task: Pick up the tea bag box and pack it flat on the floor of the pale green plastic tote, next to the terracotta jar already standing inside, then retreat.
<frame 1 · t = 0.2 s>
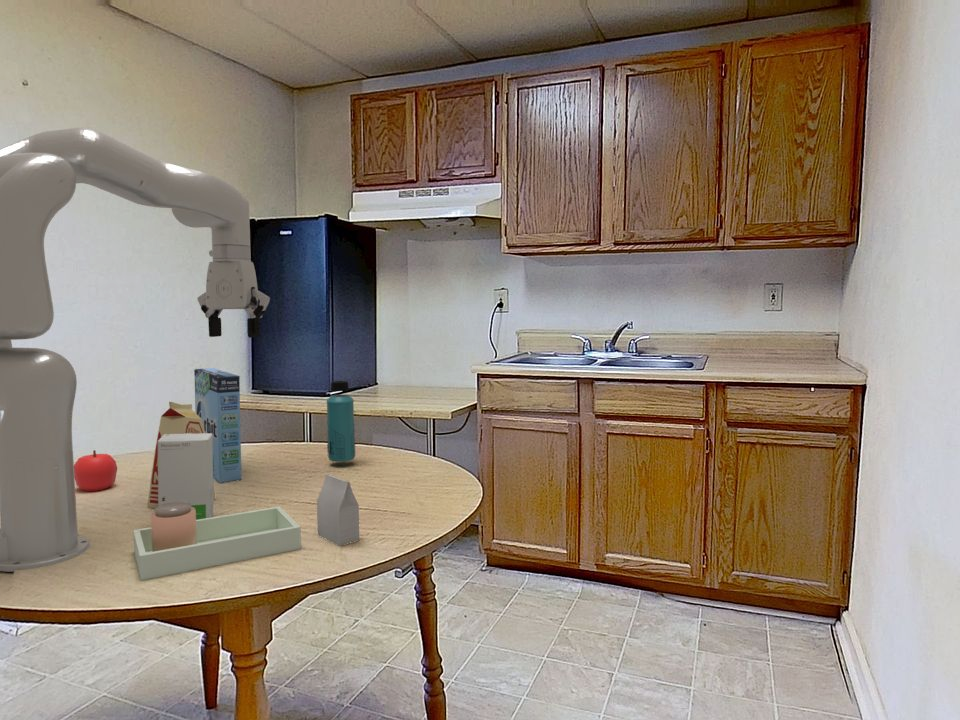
hand: (234, 336, 139), 31 cm above the table, tool pointing down, fingers open, 9 cm apart
apple: (96, 489, 136), on the table
skincare box: (188, 525, 114), on the table
beverage bottle: (341, 465, 155), on the table
jar: (175, 558, 97), point 1 cm above the table, touching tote
milk carton: (183, 503, 126), on the table
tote: (218, 553, 100), on the table
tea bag: (338, 539, 107), on the table
gum box: (219, 473, 148), on the table
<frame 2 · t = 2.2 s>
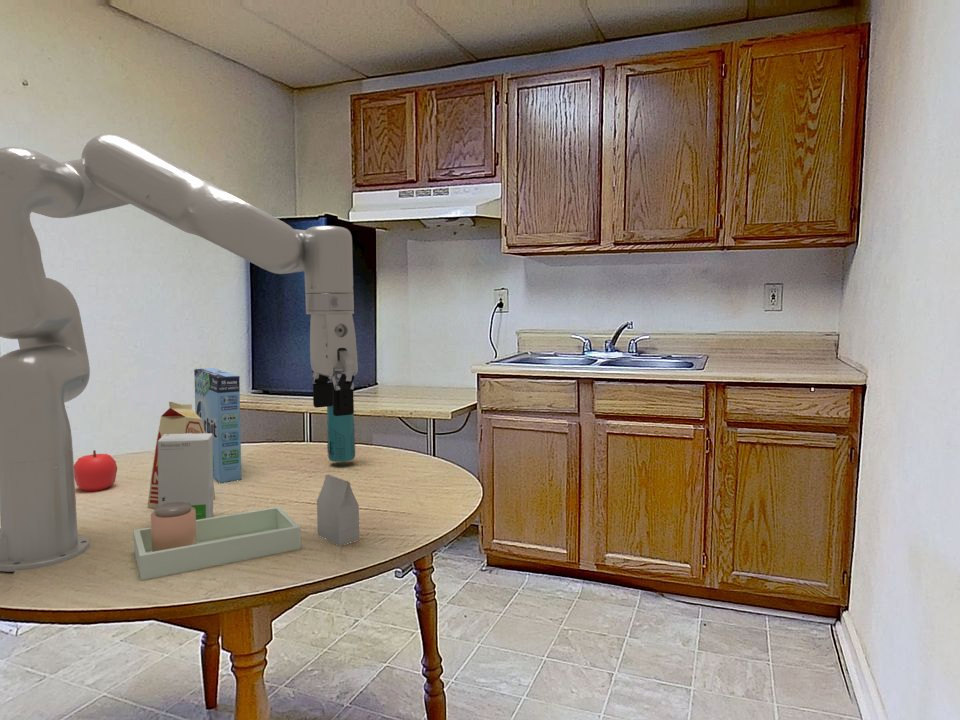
hand: (333, 410, 106), 21 cm above the table, tool pointing down, fingers open, 9 cm apart
nothing on the table moved.
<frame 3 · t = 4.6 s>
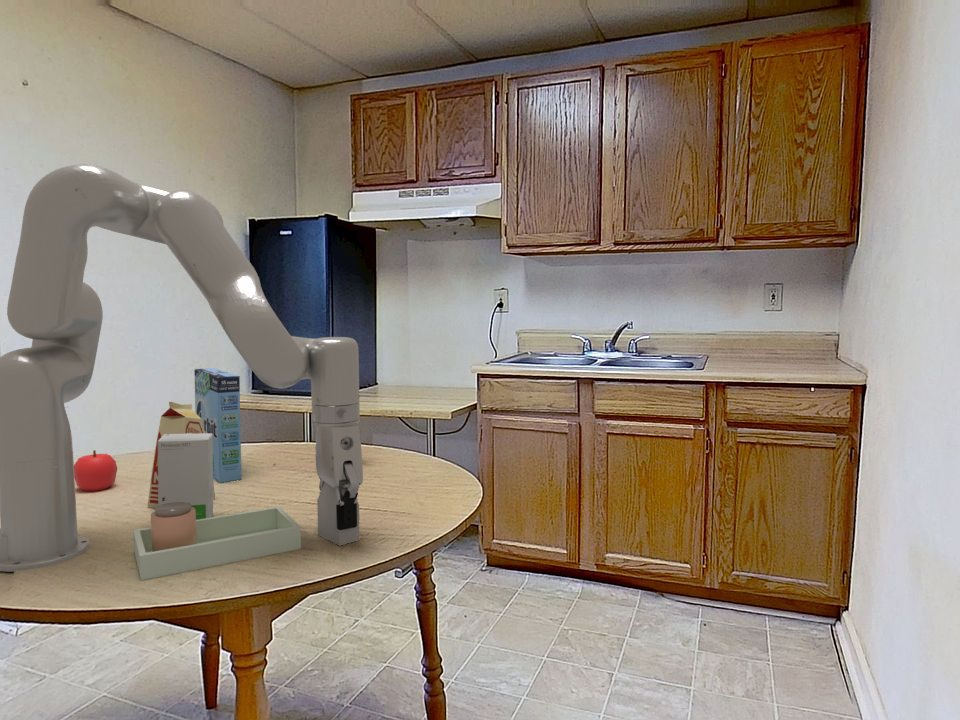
hand: (338, 520, 107), 3 cm above the table, tool pointing down, fingers closed on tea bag, 7 cm apart
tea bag: (338, 539, 107), on the table, touching gripper
everything else where it was.
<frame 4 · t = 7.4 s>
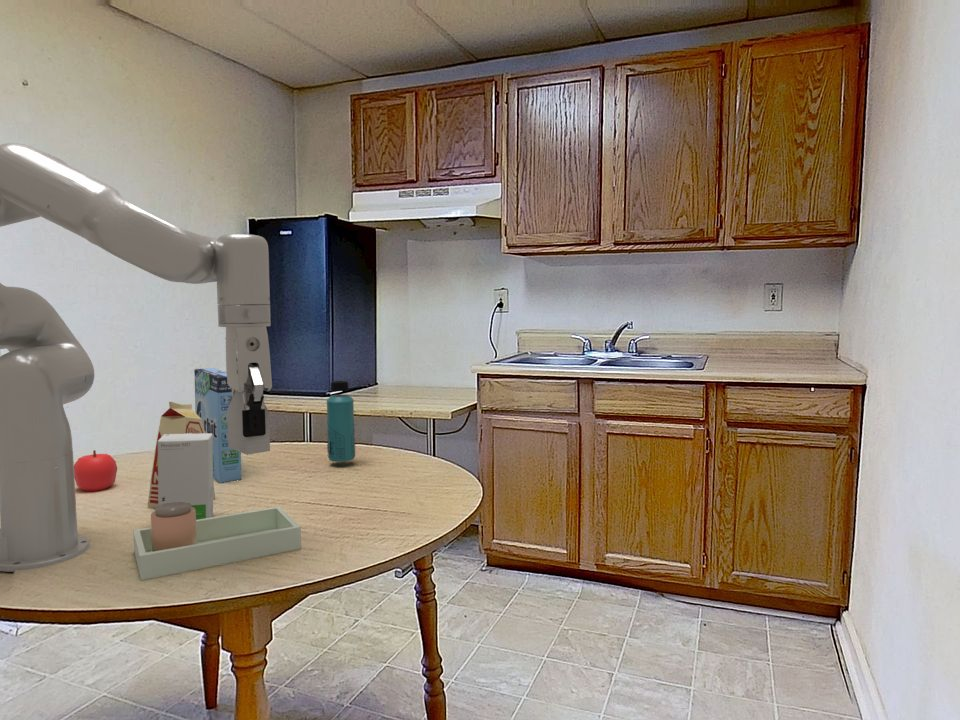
hand: (248, 430, 101), 19 cm above the table, tool pointing down, fingers closed on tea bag, 7 cm apart
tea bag: (248, 450, 102), point 16 cm above the table, touching gripper
everything else where it was.
when the fingers open (5 cm above the table, at t = 10.3 s): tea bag drops 1 cm, resting on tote.
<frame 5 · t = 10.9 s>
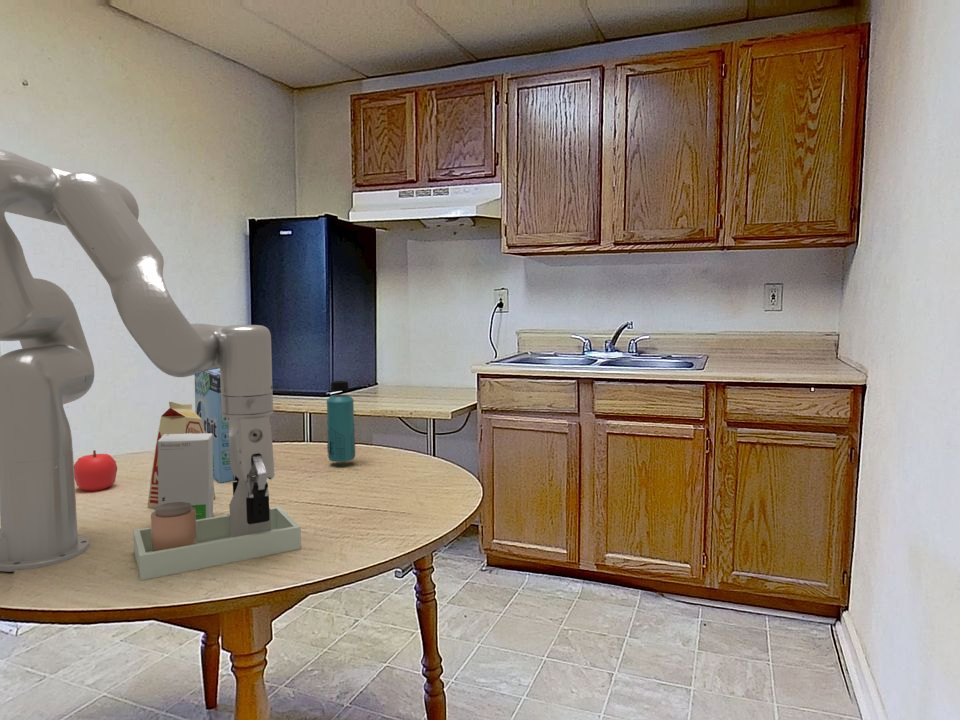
hand: (250, 513, 103), 6 cm above the table, tool pointing down, fingers open, 9 cm apart
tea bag: (250, 545, 103), resting on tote
everything else where it was.
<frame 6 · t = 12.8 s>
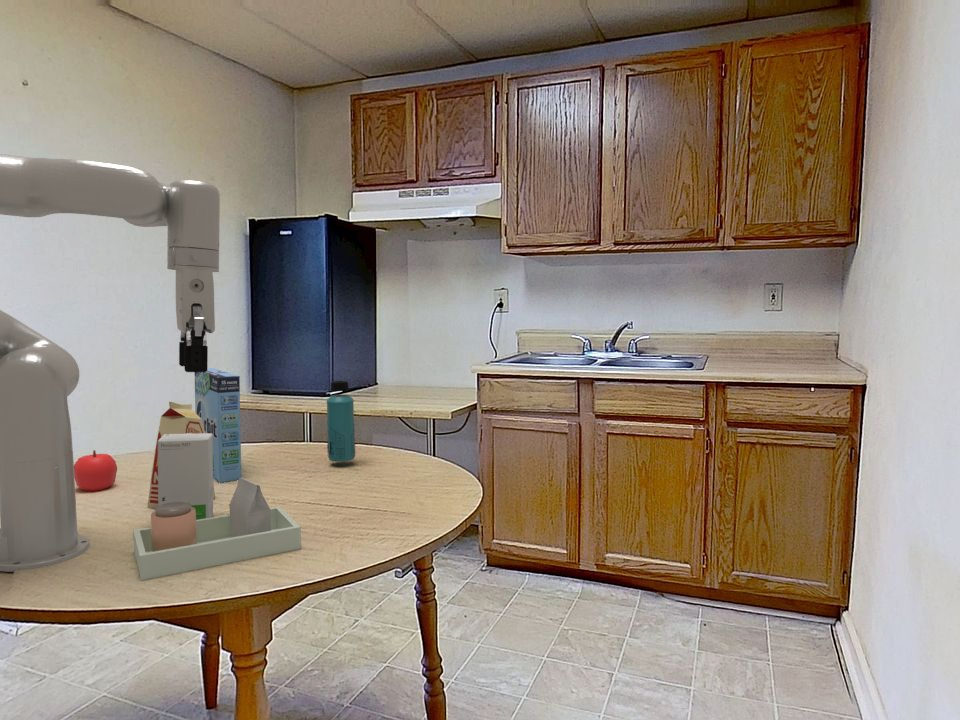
hand: (192, 368, 105), 28 cm above the table, tool pointing down, fingers open, 9 cm apart
nothing on the table moved.
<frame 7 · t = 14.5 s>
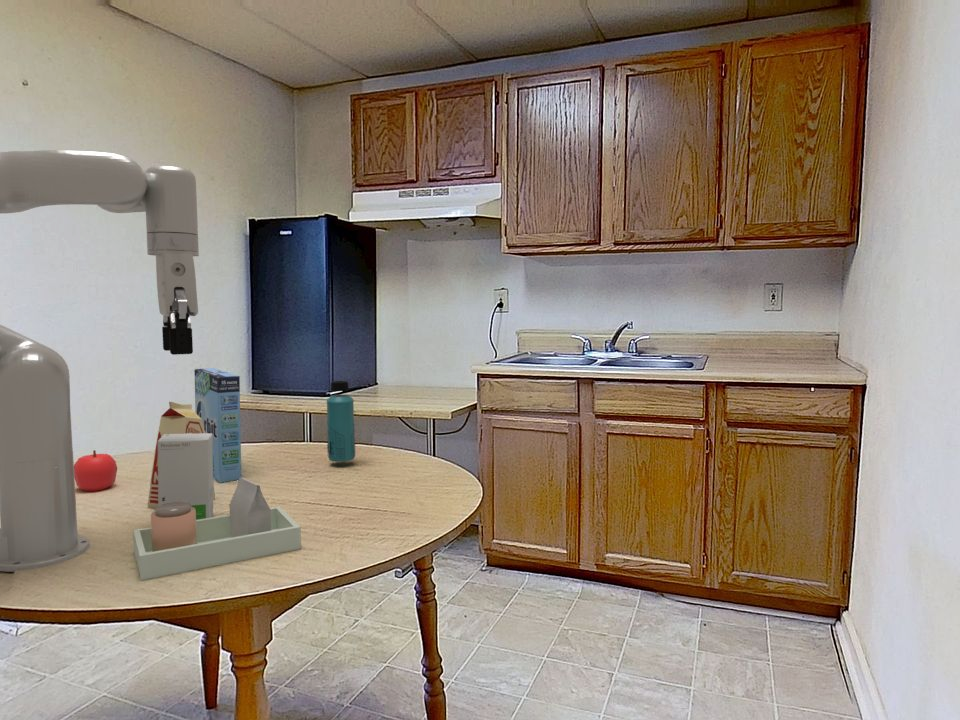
hand: (177, 352, 107), 30 cm above the table, tool pointing down, fingers open, 9 cm apart
nothing on the table moved.
at the end: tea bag inside the target area on the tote (0.2 cm from its centre), point 0.4 cm above the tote's base; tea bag tilted 0°; jar moved 0.0 cm from its start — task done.
